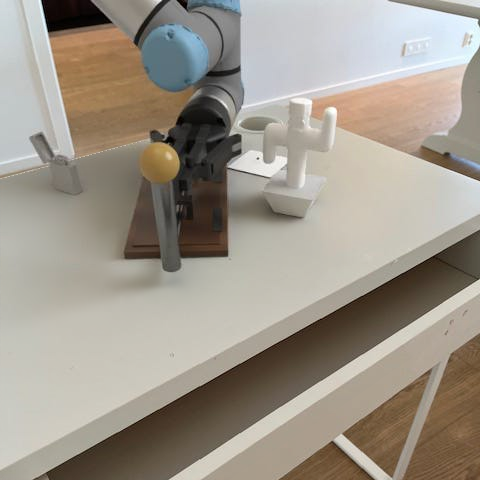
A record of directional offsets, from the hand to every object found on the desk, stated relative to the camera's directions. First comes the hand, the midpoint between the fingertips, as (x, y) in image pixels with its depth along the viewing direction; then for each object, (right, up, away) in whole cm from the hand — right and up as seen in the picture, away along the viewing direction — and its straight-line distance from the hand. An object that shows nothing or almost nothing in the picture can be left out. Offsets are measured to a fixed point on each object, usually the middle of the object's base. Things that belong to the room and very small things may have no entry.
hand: (165, 198), depth 57 cm
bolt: (0, +5, +16) cm, 17 cm away
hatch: (0, +3, +17) cm, 18 cm away
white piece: (+12, +12, +27) cm, 32 cm away
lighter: (-19, +7, +22) cm, 30 cm away
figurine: (+16, +2, +16) cm, 23 cm away
